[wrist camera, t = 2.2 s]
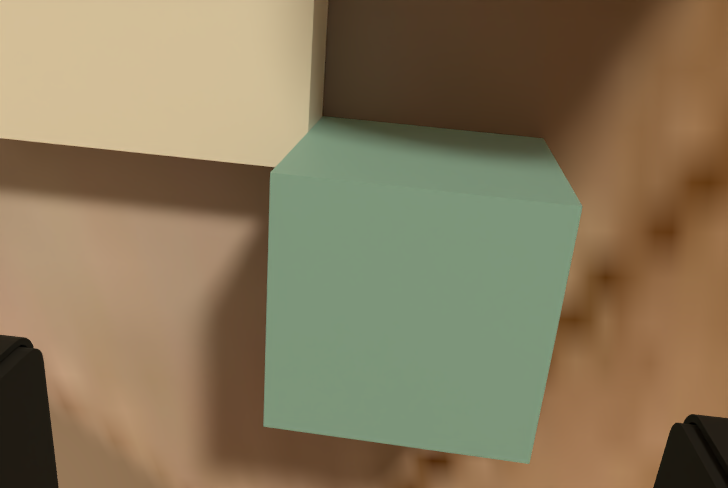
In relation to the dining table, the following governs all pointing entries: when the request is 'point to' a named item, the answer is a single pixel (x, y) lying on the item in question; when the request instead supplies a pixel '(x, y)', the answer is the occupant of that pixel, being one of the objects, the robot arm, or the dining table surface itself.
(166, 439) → the dining table surface
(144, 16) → the coaster
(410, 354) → the block
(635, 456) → the dining table surface
